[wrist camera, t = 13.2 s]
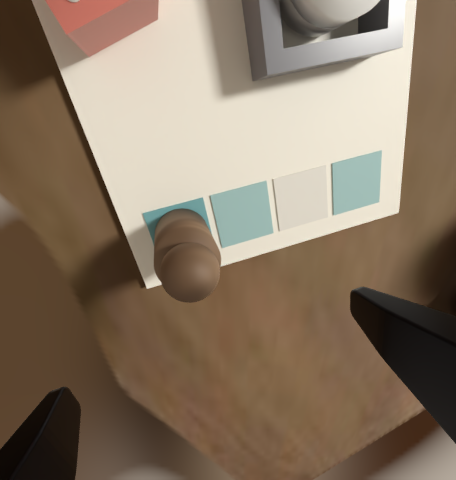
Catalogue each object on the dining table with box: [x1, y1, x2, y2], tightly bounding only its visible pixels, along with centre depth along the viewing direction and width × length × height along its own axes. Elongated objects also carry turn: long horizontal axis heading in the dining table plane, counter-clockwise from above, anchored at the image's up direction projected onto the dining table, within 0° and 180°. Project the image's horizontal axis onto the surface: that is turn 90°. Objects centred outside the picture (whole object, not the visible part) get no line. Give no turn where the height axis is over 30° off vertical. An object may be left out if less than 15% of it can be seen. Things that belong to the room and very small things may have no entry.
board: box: [32, 0, 417, 289], centre depth 17 cm, size 21×19×1 cm
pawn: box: [154, 208, 221, 302], centre depth 15 cm, size 4×4×7 cm
